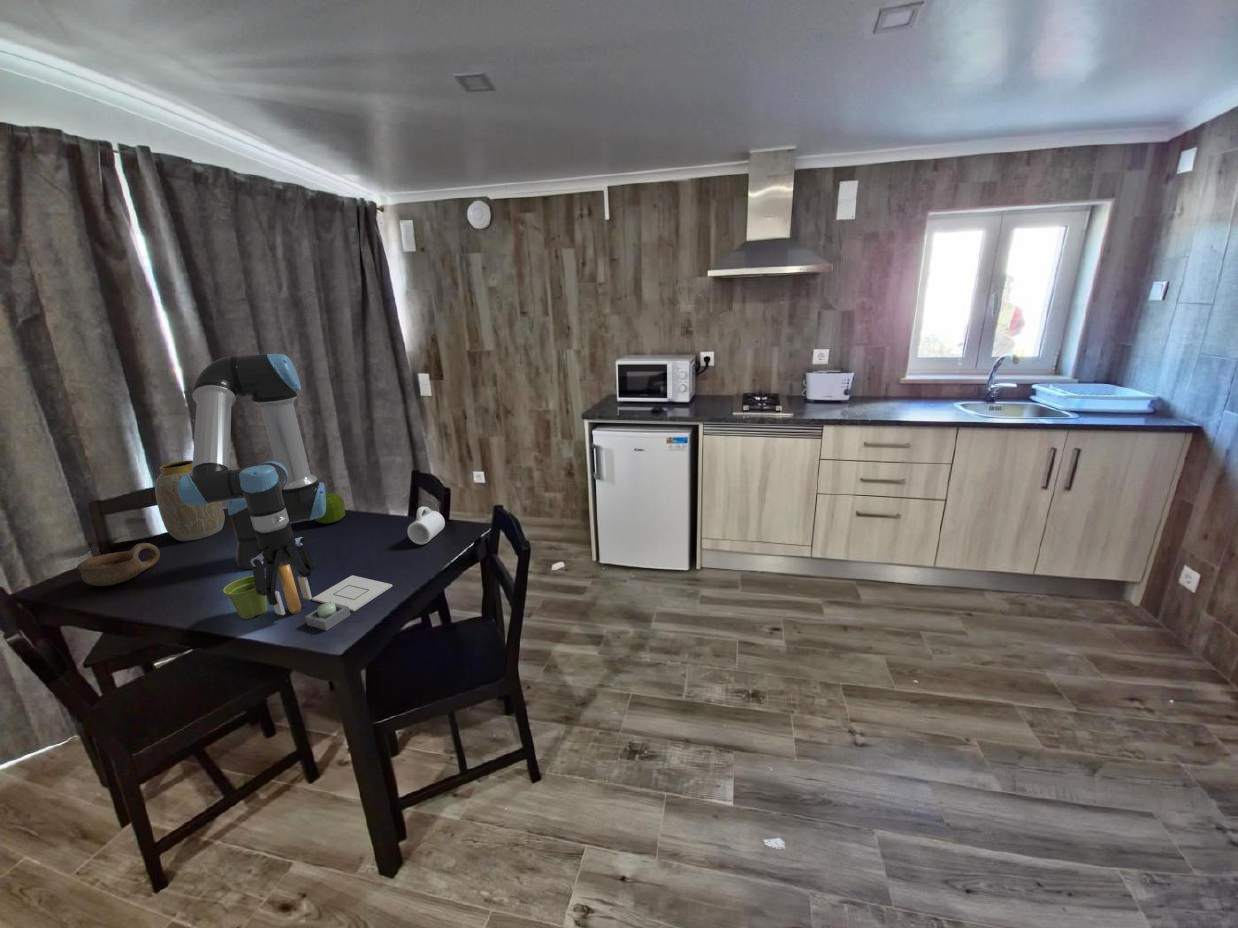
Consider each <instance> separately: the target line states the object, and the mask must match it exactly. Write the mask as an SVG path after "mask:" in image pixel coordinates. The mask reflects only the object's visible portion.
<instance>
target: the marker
mask: <svg viewBox="0 0 1238 928" xmlns="http://www.w3.org/2000/svg"><path fill="white" fill-rule="evenodd" d="M290 564H291V563H290V562H283V563H280V564H279V567H278V571H277V574H278V576H279V580H280V583H281V587H282V591H283V594H284V598H285V600H286V601H285V602H286V604H287V608H288V609H287V610H288V612H290V614H291V615H297V614H299V613H301V612H302V605H301V601H300V597H299V593H298V590H297V587H296V582H295V578H294V575H293V572H292V568H291V565H290Z"/></svg>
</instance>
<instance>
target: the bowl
mask: <svg viewBox="0 0 1238 928" xmlns="http://www.w3.org/2000/svg"><path fill="white" fill-rule="evenodd" d="M143 550H150V552H151V555H150V557H149V558H148V559H147V560H145V561H142V560H141V559H140V558H139V556H140V555H139V554H140V552H141V551H143ZM160 556H161V553H160V550H159V548H158V547H157V546H156V545H154V544H152V543H149V542H148V543H146V542H142V543H137V544H135V545H134V546H133V547H132V548H131V549H129V550H127V551H120V552H118V551H117V552H113V553H112V552H110V553H105V554H100V555H97V556H92V557H90V558H87V559H85V560H83V561H82V562H80V563H78V564H77V566H76V567H77V570H79V572H80V575H81V579H82V581H83V582H84V583H86V584H87V585H89V586H95V587H107V586H113V585H118V584H122V583H124V582H127V581H130V580H129V579H131V578H132V579H134V578H135V577H137V576H138V575H140V574H141V573H142V572H145V571H146V570H147V569H149V568H152V567H153V566H154V565H156V563H158V561H159V559H160ZM133 577H134V578H133ZM132 579H131V580H132ZM117 583H118V584H117Z"/></svg>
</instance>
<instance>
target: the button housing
mask: <svg viewBox="0 0 1238 928" xmlns="http://www.w3.org/2000/svg"><path fill="white" fill-rule="evenodd" d="M335 607H336V611H337V612H336V613H334V614H333V615H331V616H329V617H328V618H326V619H323V618H320V617H319V615H318V611H317V609H316V610H313V611H312V612H311V613H310V612H309V614H307V615H305V622H306V625H307V626H309V627H313V628H316V629H320V630H324V631H329V630H330V629H332V628H333V627H335V626H336V625H337V624H339V623H341V622H343V621H344V620H345V619H346V618H349V617H350V616H351V615H352V614H351V610H349V607H348V606H344V605H340V604H337V603H335Z"/></svg>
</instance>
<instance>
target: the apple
mask: <svg viewBox="0 0 1238 928" xmlns="http://www.w3.org/2000/svg"><path fill="white" fill-rule="evenodd" d="M345 516H346V510H345V500H344V498H343V497H342V496H341V495H339V494H337V493H326V512H325V515H324V516H323V517H321V518H316V519H314V520H315V522H318V523H320V524H326V525H327V524H332V523H337V522H338V521H341V520H342V519H343V518H344V517H345Z"/></svg>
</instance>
